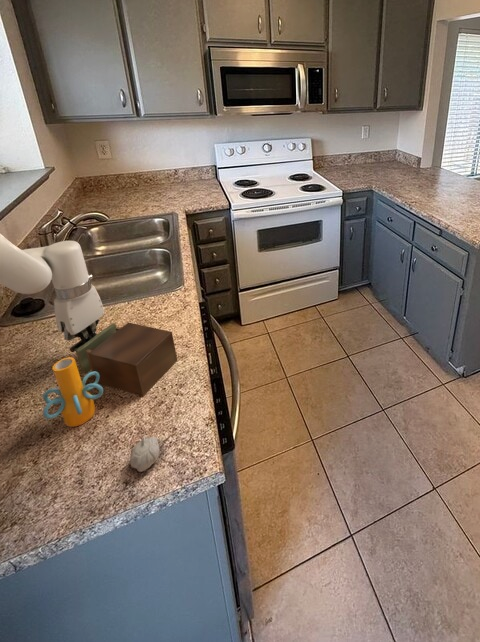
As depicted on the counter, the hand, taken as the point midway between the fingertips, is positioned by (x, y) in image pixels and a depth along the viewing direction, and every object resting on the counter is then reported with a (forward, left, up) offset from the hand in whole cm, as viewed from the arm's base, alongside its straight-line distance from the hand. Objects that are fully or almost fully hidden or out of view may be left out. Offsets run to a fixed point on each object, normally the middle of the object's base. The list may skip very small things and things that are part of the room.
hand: (90, 346), depth 97 cm
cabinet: (+15, 0, -5) cm, 16 cm away
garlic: (+35, -19, -5) cm, 40 cm away
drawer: (+7, 0, -4) cm, 8 cm away
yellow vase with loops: (+12, -15, -5) cm, 20 cm away
